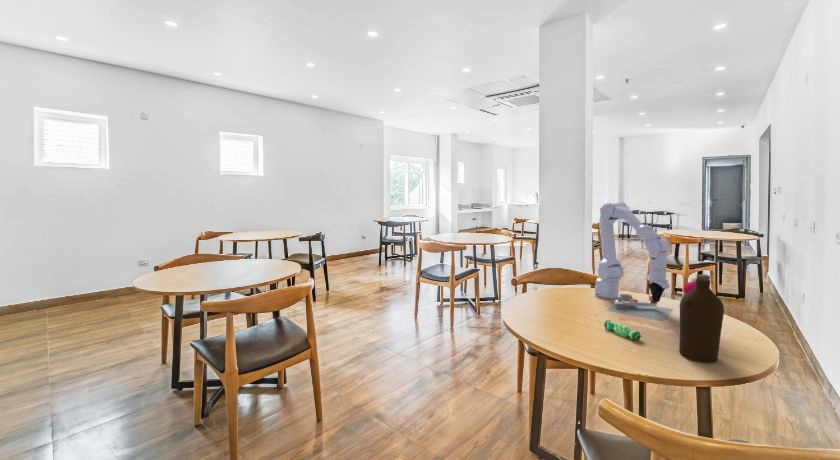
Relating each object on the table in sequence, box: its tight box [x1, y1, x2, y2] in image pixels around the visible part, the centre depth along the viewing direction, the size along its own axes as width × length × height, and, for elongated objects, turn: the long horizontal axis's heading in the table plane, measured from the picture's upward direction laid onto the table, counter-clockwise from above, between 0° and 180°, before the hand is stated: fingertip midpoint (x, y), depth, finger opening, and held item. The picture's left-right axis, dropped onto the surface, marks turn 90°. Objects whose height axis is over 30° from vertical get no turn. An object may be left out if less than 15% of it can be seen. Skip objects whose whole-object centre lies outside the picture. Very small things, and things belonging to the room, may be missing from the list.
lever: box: [613, 293, 658, 307], centre depth 155 cm, size 16×4×4 cm, turn 82°
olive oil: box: [678, 273, 725, 364], centre depth 112 cm, size 11×11×25 cm
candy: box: [603, 319, 642, 342], centre depth 131 cm, size 12×3×4 cm
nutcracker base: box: [606, 293, 674, 322], centre depth 153 cm, size 20×18×5 cm
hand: (656, 301), depth 151 cm, fingers closed
